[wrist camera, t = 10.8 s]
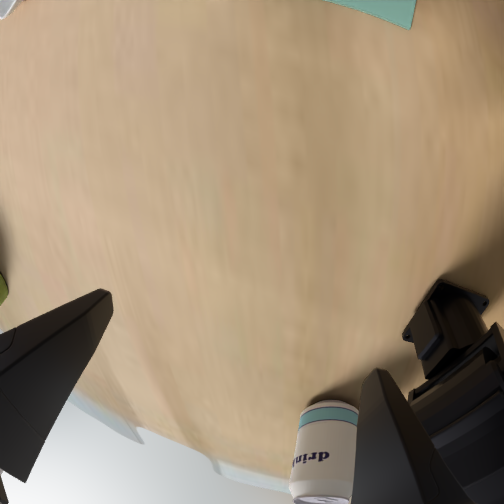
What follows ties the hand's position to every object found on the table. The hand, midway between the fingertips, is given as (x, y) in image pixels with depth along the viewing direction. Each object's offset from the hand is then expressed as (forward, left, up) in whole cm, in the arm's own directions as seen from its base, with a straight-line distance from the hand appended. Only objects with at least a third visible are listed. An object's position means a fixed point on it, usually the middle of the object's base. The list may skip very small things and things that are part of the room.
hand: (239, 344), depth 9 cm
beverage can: (-12, +22, -13) cm, 28 cm away
